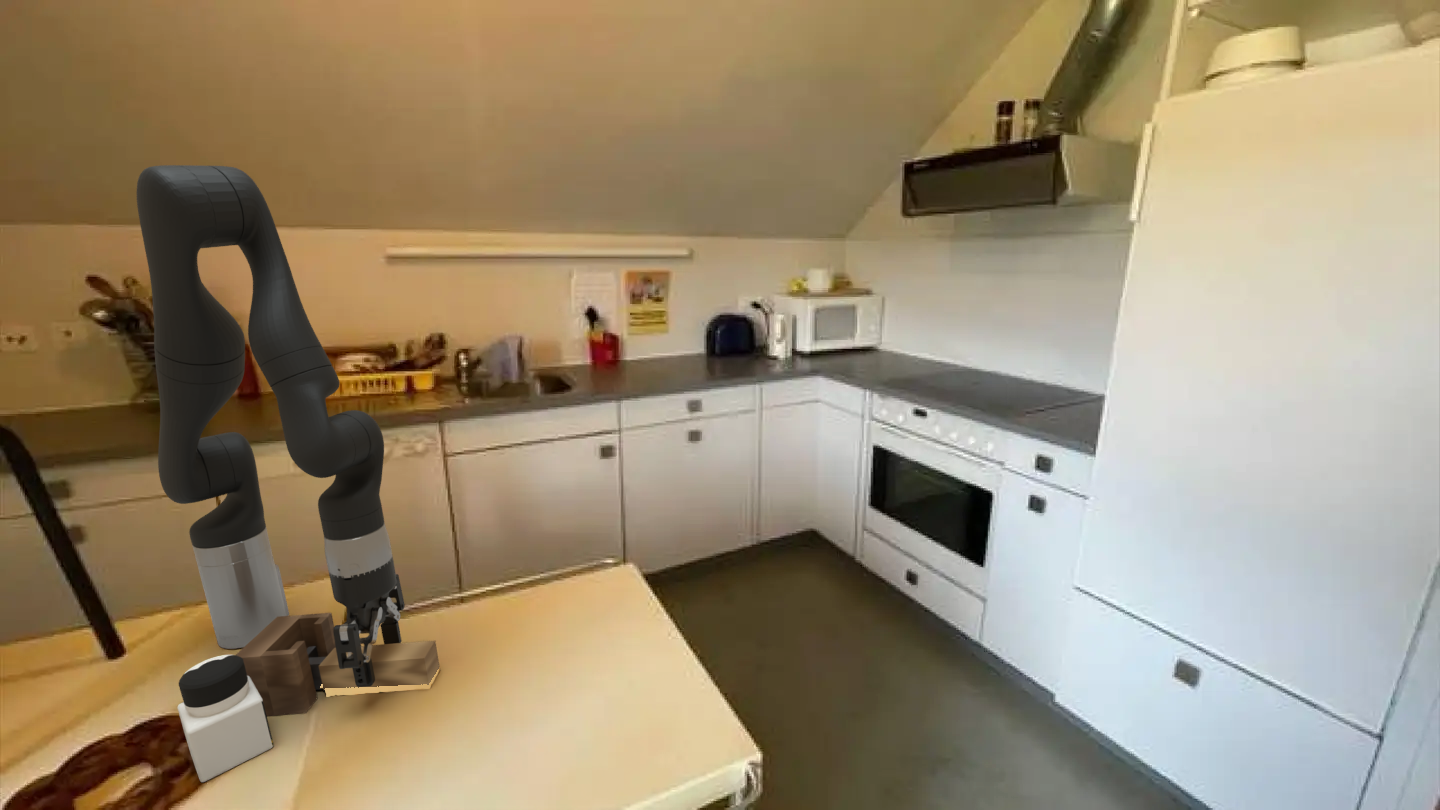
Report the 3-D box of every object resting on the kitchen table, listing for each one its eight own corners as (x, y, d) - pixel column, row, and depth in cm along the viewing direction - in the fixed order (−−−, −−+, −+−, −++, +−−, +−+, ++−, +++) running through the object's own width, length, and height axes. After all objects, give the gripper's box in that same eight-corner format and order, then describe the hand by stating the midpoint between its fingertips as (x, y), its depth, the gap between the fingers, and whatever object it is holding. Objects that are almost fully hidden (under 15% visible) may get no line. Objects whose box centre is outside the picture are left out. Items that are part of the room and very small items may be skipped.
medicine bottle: (274, 747, 75) (254, 663, 73) (201, 785, 70) (175, 695, 68) (260, 720, 80) (240, 640, 77) (190, 753, 75) (166, 668, 72)
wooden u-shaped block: (342, 666, 90) (331, 612, 88) (305, 712, 81) (292, 653, 79) (289, 670, 90) (277, 616, 88) (246, 717, 81) (231, 658, 79)
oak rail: (442, 667, 90) (437, 637, 88) (427, 693, 84) (422, 661, 83) (315, 676, 88) (308, 646, 87) (292, 703, 83) (285, 672, 82)
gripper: (357, 538, 89) (375, 636, 92) (300, 589, 75) (325, 702, 79) (410, 534, 89) (426, 632, 93) (364, 585, 75) (385, 697, 79)
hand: (380, 664), depth 86 cm, fingers open, 8 cm apart
